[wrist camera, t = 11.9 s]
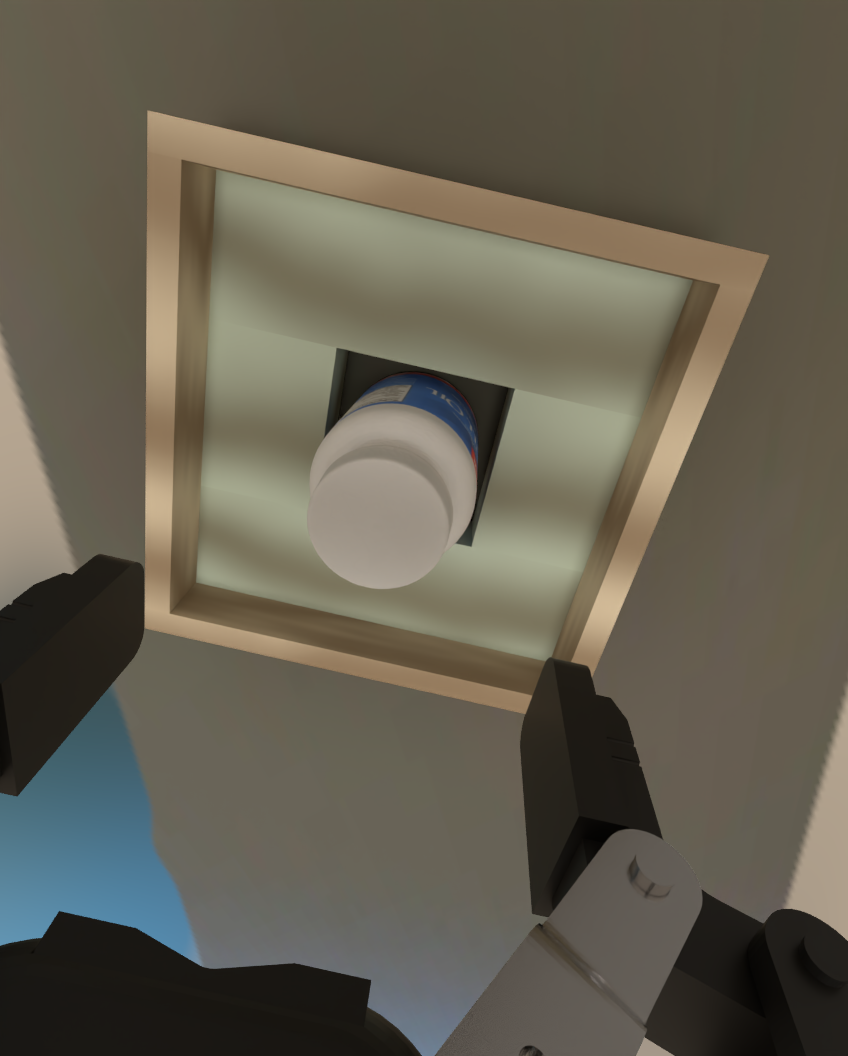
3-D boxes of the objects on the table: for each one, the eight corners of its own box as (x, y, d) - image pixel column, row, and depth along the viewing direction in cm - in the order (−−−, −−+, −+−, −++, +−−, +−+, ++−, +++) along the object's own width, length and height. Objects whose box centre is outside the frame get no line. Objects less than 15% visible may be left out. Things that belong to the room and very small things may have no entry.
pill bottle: (498, 465, 26) (508, 580, 17) (386, 510, 27) (340, 638, 18) (446, 344, 24) (424, 402, 15) (328, 399, 25) (244, 482, 16)
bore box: (218, 140, 21) (147, 110, 17) (708, 254, 22) (769, 255, 17) (197, 569, 29) (145, 628, 25) (558, 650, 29) (572, 724, 25)
